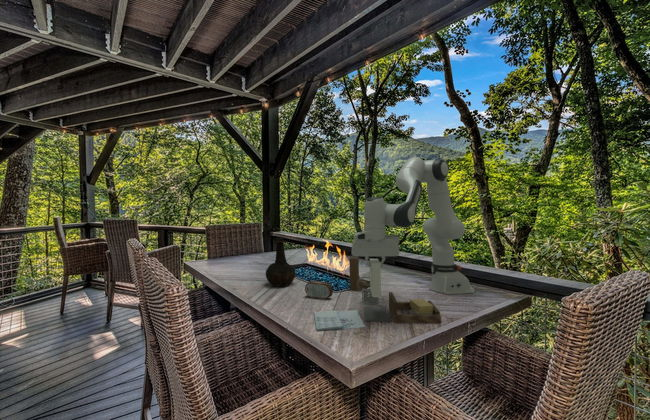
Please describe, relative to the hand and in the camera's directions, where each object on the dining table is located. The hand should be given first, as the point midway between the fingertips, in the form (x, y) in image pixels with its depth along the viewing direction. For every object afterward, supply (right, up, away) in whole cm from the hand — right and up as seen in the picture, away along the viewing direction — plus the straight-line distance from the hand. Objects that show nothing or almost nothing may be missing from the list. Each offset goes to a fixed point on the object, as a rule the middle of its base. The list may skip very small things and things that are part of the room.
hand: (375, 266), depth 136 cm
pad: (+1, -21, +1) cm, 21 cm away
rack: (+16, -21, 0) cm, 26 cm away
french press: (0, -21, +16) cm, 26 cm away
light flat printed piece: (-16, -23, -4) cm, 28 cm away
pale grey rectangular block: (0, -12, 0) cm, 12 cm away
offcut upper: (+20, -18, 0) cm, 27 cm away
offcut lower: (+20, -21, -1) cm, 29 cm away
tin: (-25, -21, +26) cm, 42 cm away
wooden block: (-3, -20, +39) cm, 44 cm away
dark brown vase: (-48, -21, +54) cm, 75 cm away
